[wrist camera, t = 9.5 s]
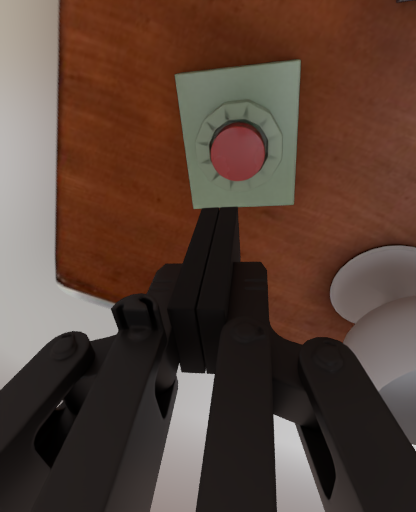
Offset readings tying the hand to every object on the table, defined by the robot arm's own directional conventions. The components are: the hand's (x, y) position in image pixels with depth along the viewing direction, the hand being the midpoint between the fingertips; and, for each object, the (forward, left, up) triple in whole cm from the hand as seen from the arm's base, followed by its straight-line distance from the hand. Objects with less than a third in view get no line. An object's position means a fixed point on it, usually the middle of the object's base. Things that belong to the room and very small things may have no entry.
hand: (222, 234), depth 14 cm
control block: (0, 0, -18) cm, 18 cm away
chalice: (+18, +16, -19) cm, 30 cm away
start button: (0, 0, -15) cm, 15 cm away
